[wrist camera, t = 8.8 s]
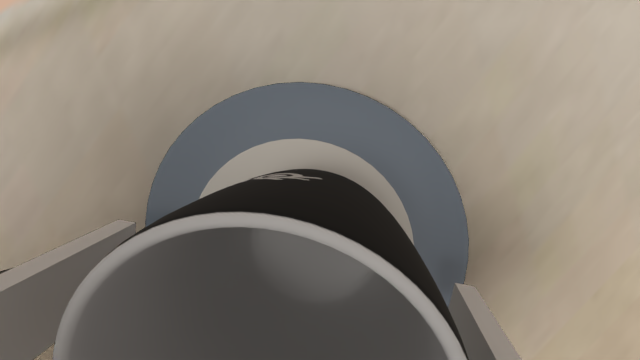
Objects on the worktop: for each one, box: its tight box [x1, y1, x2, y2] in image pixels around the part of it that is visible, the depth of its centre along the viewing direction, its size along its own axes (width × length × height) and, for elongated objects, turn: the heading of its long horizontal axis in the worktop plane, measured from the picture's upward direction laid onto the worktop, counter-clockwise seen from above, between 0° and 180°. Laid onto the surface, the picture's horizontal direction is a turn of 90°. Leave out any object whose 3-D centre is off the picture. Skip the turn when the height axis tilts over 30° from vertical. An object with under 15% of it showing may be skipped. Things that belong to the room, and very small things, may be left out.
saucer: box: [145, 82, 469, 308], centre depth 18 cm, size 16×16×1 cm
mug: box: [53, 169, 469, 360], centre depth 12 cm, size 12×9×10 cm
